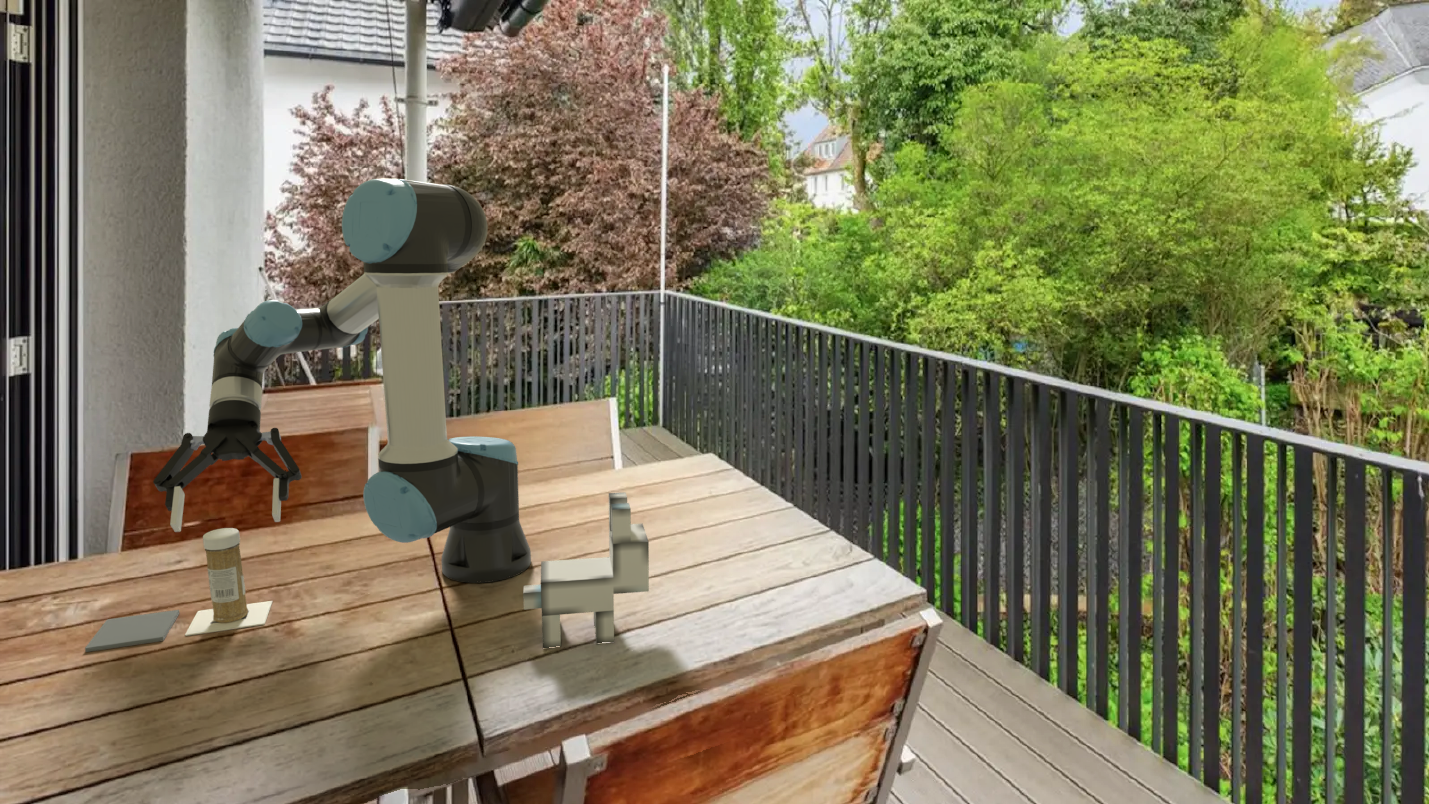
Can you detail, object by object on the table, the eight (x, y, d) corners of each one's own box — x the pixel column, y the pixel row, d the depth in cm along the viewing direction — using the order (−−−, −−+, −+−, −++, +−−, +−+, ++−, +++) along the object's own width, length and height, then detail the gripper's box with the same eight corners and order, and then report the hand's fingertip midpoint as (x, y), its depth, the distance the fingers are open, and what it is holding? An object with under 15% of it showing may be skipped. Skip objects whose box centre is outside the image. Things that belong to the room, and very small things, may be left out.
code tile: (272, 601, 122) (272, 600, 122) (264, 624, 115) (264, 623, 115) (198, 612, 118) (197, 610, 118) (185, 636, 111) (184, 634, 111)
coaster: (179, 613, 118) (179, 609, 118) (163, 640, 110) (162, 636, 110) (107, 623, 115) (107, 619, 114) (85, 652, 106) (84, 648, 106)
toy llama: (526, 625, 116) (521, 497, 112) (642, 616, 119) (642, 491, 115) (524, 650, 108) (519, 514, 105) (648, 639, 112) (648, 507, 108)
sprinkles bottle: (254, 610, 119) (245, 526, 116) (237, 624, 114) (227, 537, 112) (224, 610, 119) (214, 526, 116) (205, 624, 114) (195, 537, 112)
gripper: (319, 417, 139) (318, 524, 129) (154, 426, 130) (138, 542, 120) (314, 393, 133) (312, 503, 123) (140, 401, 124) (122, 521, 114)
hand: (226, 523), depth 121 cm, fingers open, 13 cm apart
